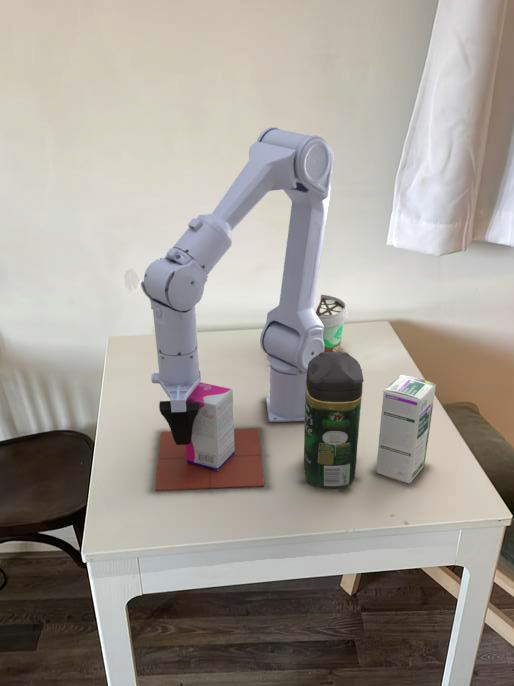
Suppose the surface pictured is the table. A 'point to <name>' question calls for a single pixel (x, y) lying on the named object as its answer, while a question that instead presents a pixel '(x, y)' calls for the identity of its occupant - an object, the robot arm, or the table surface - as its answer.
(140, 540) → the table surface
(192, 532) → the table surface
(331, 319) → the food container
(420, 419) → the syrup box
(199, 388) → the supplement box
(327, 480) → the coffee jar
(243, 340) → the table surface
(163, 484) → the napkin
